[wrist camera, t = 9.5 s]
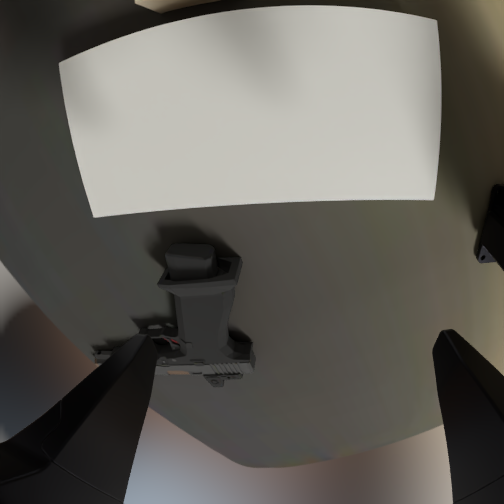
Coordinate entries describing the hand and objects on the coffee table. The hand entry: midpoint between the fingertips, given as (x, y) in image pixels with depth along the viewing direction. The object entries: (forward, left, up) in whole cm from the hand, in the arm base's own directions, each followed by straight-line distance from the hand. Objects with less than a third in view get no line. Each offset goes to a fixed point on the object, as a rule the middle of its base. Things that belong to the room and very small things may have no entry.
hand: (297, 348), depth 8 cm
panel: (+2, -6, -12) cm, 13 cm away
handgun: (+13, +11, -13) cm, 21 cm away
